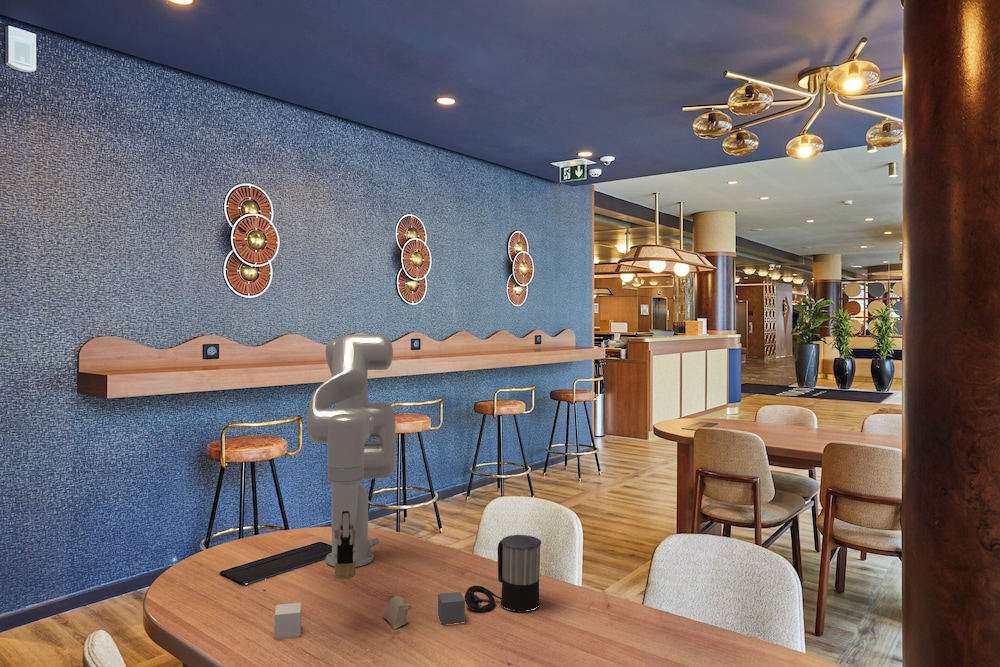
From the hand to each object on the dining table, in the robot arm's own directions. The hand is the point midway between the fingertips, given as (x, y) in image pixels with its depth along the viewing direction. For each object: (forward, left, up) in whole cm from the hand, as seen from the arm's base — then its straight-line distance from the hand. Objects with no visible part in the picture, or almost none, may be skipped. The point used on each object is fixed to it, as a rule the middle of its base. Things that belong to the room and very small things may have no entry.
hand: (344, 557), depth 141 cm
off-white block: (+8, -8, -15) cm, 18 cm away
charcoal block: (-15, +17, -15) cm, 27 cm away
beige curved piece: (-7, +8, -15) cm, 18 cm away
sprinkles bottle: (0, 0, -4) cm, 4 cm away
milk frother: (-27, +23, -15) cm, 38 cm away
